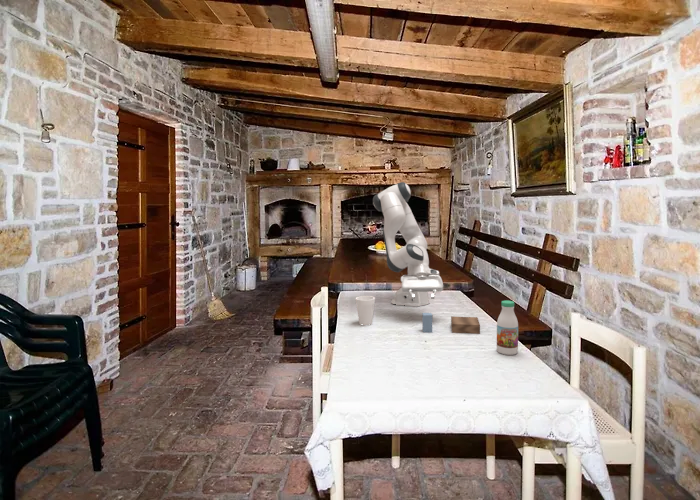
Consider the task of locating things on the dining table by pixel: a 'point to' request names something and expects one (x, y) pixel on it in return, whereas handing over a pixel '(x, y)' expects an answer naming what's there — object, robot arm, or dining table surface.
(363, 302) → the foam cup
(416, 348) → the dining table surface
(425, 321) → the tower block
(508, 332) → the milk bottle
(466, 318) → the base brick
